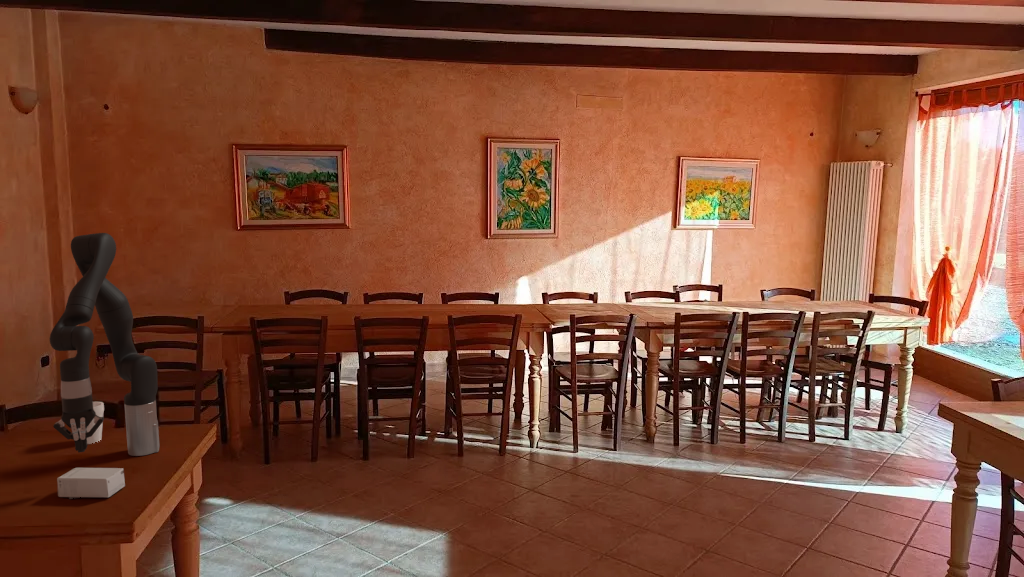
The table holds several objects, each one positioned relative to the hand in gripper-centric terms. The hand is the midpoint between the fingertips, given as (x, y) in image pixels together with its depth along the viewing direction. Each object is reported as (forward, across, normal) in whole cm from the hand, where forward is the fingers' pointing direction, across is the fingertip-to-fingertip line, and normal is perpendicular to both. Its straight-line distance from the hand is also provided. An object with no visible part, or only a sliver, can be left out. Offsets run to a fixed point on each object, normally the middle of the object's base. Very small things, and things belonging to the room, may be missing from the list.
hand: (81, 451), depth 200 cm
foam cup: (+11, +5, -45) cm, 47 cm away
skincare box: (+8, +4, +3) cm, 9 cm away
